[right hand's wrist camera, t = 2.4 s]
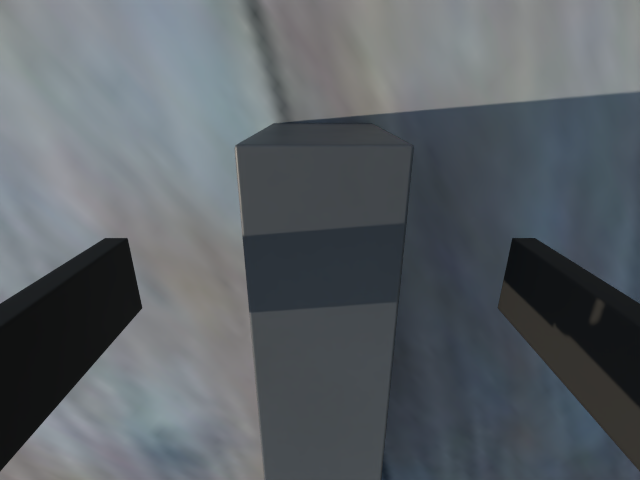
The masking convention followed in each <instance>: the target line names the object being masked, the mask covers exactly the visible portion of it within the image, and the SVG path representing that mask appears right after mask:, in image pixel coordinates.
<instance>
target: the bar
mask: <svg viewBox="0 0 640 480" xmlns="http://www.w3.org/2000/svg"><path fill="white" fill-rule="evenodd" d="M413 150H414V147H413V145H411V144H409V143H408V142H406V141H404V140H402V139H400V138H398V137H396V136H394V135H393V134H391V133H389V132H387V131H385V130H383V129H381V128H380V127H378V126H376V125H374V124H372V123H274V124H272V125H270V126H268V127H267V128H265V129H263V130H261V131H260V132H258V133H256V134H254V135H253V136H251V137H249V138H247V139H246V140H244V141H242V142H240V143H239V144H237V145H235V157H236V168H237V179H238V190H239V201H240V213H241V224H242V235H243V246H244V257H245V269H246V280H247V291H248V302H249V313H250V325H251V336H252V347H253V358H254V369H255V381H256V392H257V403H258V414H259V425H260V436H261V448H262V459H263V470H264V480H381V476H382V466H383V456H384V445H385V435H386V425H387V415H388V405H389V394H390V384H391V374H392V364H393V354H394V343H395V333H396V323H397V313H398V303H399V292H400V282H401V272H402V262H403V252H404V242H405V231H406V221H407V211H408V201H409V191H410V180H411V170H412V160H413Z"/></svg>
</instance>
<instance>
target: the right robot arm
mask: <svg viewBox="0 0 640 480" xmlns="http://www.w3.org/2000/svg"><path fill="white" fill-rule="evenodd" d="M141 309H142V304H141V300H140V295H139V290H138V286H137V281H136V276H135V271H134V267H133V262H132V257H131V252H130V248H129V243H128V238H105V239H103V240H101V241H100V242H98V243H97V244H95V245H93V246H92V247H90V248H89V249H87V250H85V251H84V252H82V253H81V254H79V255H77V256H76V257H74V258H73V259H71V260H69V261H68V262H66V263H65V264H63V265H61V266H60V267H58V268H57V269H55V270H54V271H52V272H50V273H49V274H47V275H46V276H44V277H42V278H41V279H39V280H38V281H36V282H34V283H33V284H31V285H30V286H28V287H26V288H25V289H23V290H22V291H20V292H18V293H17V294H15V295H14V296H12V297H10V298H9V299H7V300H6V301H4V302H2V303H1V304H0V471H1V470H2V469H3V468H4V466H5V465H6V464H7V463H8V462H9V461H10V459H11V458H12V457H13V456H14V455H15V454H16V453H17V451H18V450H19V449H20V448H21V447H22V446H23V445H24V443H25V442H26V441H27V440H28V439H29V438H30V436H31V435H32V434H33V433H34V432H35V431H36V430H37V428H38V427H39V426H40V425H41V424H42V423H43V422H44V420H45V419H46V418H47V417H48V416H49V415H50V413H51V412H52V411H53V410H54V409H55V408H56V407H57V405H58V404H59V403H60V402H61V401H62V400H63V399H64V397H65V396H66V395H67V394H68V393H69V392H70V390H71V389H72V388H73V387H74V386H75V385H76V384H77V382H78V381H79V380H80V379H81V378H82V377H83V376H84V374H85V373H86V372H87V371H88V370H89V369H90V367H91V366H92V365H93V364H94V363H95V362H96V361H97V359H98V358H99V357H100V356H101V355H102V354H103V353H104V351H105V350H106V349H107V348H108V347H109V346H110V345H111V343H112V342H113V341H114V340H115V339H116V338H117V336H118V335H119V334H120V333H121V332H122V331H123V330H124V328H125V327H126V326H127V325H128V324H129V323H130V322H131V320H132V319H133V318H134V317H135V316H136V315H137V313H138V312H139V311H140V310H141ZM498 309H499V310H500V311H501V312H502V313H503V315H504V316H505V317H506V318H507V319H508V320H509V322H510V323H511V324H512V325H513V326H514V327H515V328H516V330H517V331H518V332H519V333H520V334H521V335H522V336H523V338H524V339H525V340H526V341H527V342H528V343H529V345H530V346H531V347H532V348H533V349H534V350H535V351H536V353H537V354H538V355H539V356H540V357H541V358H542V359H543V361H544V362H545V363H546V364H547V365H548V366H549V368H550V369H551V370H552V371H553V372H554V373H555V374H556V376H557V377H558V378H559V379H560V380H561V381H562V382H563V384H564V385H565V386H566V387H567V388H568V389H569V390H570V392H571V393H572V394H573V395H574V396H575V397H576V399H577V400H578V401H579V402H580V403H581V404H582V405H583V407H584V408H585V409H586V410H587V411H588V412H589V413H590V415H591V416H592V417H593V418H594V419H595V420H596V422H597V423H598V424H599V425H600V426H601V427H602V428H603V430H604V431H605V432H606V433H607V434H608V435H609V436H610V438H611V439H612V440H613V441H614V442H615V443H616V445H617V446H618V447H619V448H620V449H621V450H622V451H623V453H624V454H625V455H626V456H627V457H628V458H629V459H630V461H631V462H632V463H633V464H634V465H635V466H636V468H637V469H638V470H639V471H640V304H639V303H638V302H636V301H634V300H633V299H631V298H630V297H628V296H626V295H625V294H623V293H622V292H620V291H618V290H617V289H615V288H614V287H612V286H610V285H609V284H607V283H606V282H604V281H602V280H601V279H599V278H598V277H596V276H594V275H593V274H591V273H590V272H588V271H586V270H585V269H583V268H582V267H580V266H579V265H577V264H575V263H574V262H572V261H571V260H569V259H567V258H566V257H564V256H563V255H561V254H559V253H558V252H556V251H555V250H553V249H551V248H550V247H548V246H547V245H545V244H543V243H542V242H540V241H539V240H537V239H535V238H512V243H511V248H510V252H509V257H508V262H507V267H506V271H505V276H504V281H503V286H502V290H501V295H500V300H499V304H498Z"/></svg>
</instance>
